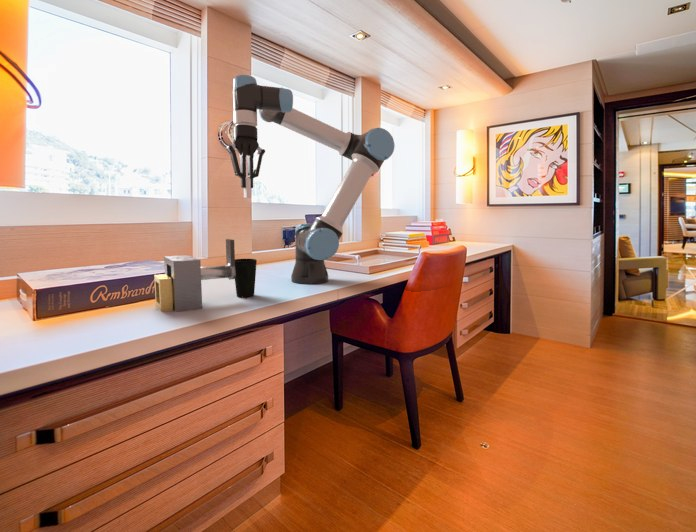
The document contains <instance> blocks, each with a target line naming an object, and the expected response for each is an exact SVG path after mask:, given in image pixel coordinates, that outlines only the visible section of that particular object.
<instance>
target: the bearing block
mask: <svg viewBox="0 0 696 532" xmlns="http://www.w3.org/2000/svg"><path fill="white" fill-rule="evenodd" d="M163 263H164V267H163V268H164V274H166V275H167V276H169V277H170V278H171V279H172V299H173V310H174V311H175V313H177V312H183V311H191V310H193V311H194V310H198V309H203V292H202V290H203V289H202V280H201V267H202V266H201V259H199V258H196V257H194V256H192V255H189V254H188V255H187V254H183V255H164V256H163Z"/></svg>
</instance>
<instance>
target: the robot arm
mask: <svg viewBox="0 0 696 532" xmlns="http://www.w3.org/2000/svg"><path fill="white" fill-rule="evenodd" d="M232 81H233V83H232V87H233V88H232V100H233V104H232V105H233V124H234V127H233V137H234V138H233V139H234V140H233V142H232V144H229V145H227V146H226V150H227V152H228V153H229V155H230V160H231V164H232V167H233V171H234V175H235V176H236V177H239V179H240V187H241V188H242V189H243V198H244V199H251V198H252V189H253V188H254V179H255V178H258V177H259V175H260V171H261V170H260V169H261V164H262V161H263V156H264V154H265V153H266V150H265V149H263V148H261V146H260V145H259V144H260V143H259V141H258V128H257V127H258V115H259V117H260V119H261V120H262V121H264V122H266V123H275V124H276V125H279V126H282V127H283V128H286V129H288V130H290V131H292V132H295V133H296V134H299V135H301V136H304V137H306V138H308V139H311V140H313V141H314V142H316V143H319V144H321V145H324V146H326V147H328V148H331V149H333V150H334V151H337V152H338V154H339V155H340V156H342V157H344V158H346V159H349V160H350V161H352V163H350V165H349V168H348V169H347V171H346V173H345V174H344V176H343V177H342V180H341V181H340V183H339V185H338V187H337V188H336V190H335V192H334V193H333V195H332V197H331V198H330V200H329V202H328V204H327V206H326V207H325V209H324V211H323V213H322V214H321V216H320V215H319V216H317V217H315V218H314V220H313V221H312V223H311V222H310V223H299V224H297V225H296V226H295V232H294V235H295V236H294V237H295V239H294V240H295V241H294V242H295V246H294V247H295V248H294V249H295V264H294V266H293V270H292V273H291V278H290V279H291V282H292V283H294V284H305V285H306V284H307V285H309V284H310V285H311V284H312V285H315V284H317V285H318V284H324V283H327V282H329V273H328V270H327V267H326V263H325V260H326V261H327V260H330V259H331V258H333V257H334V256H335V255H336V253H337V252H338V250H339V246H340V239H341V237H342V235H343V234H344V233H343V229H342V227H343V225H344V224H345V222H346V220H347V218H348V217H349V215H350V213H351V211H352V209H353V208H354V206H355V204H357V203H356V202H357V201H358V200H359V198H360V195H361V194H362V193H363V190H364V189H365V187H366V185H367V183H368V181H369V180H370V178H371V177H372V175H373V174H375V173H378V172H379V170H380V169H381V167H382V165H383V163H384V162H385V161H387V160H388V159H390V158H391V156H392V155H393V153H394V151H395V146H396V145H395V141H394V138H393V135H392V134H391V133H390V132H389V130H387V129H386V128H382V127H375V128H374V127H373V128H371V129H369V130H368V131H366V132H365V133H362V134H357V133H353V132H350V131H348V132H345V131H342V130H341V129H338V128H336V127H334V126H332V125H330V124H328V123H325V122H323V121H321V120H320V119H317V118H315V117H313V116H310V115H308V114H306V113H304V112H302V111H299V110H298V109H295V108H293V105H294V95H293V91H292V90H291V89H289V88H284V87H276V86H267V85H260V84H258V83H257V79H256V78H255V77H253V76H250V75H248V74H238V75H236V76H234V78H233V80H232ZM258 113H259V114H258ZM236 151H237V153H238V156H239V161H238V157H237V153H236ZM255 152H256V154H257V155H256V157H255V163H254V156H255Z"/></svg>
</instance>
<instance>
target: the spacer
mask: <svg viewBox="0 0 696 532" xmlns="http://www.w3.org/2000/svg"><path fill="white" fill-rule="evenodd" d="M153 276H154V277H153V278H154V296H155V297H154V299H155V306H156V307H157V309H158V310H159V311H160V312H161V313H162V312H168V311H173V310H174V309H173V299H172V279H171V278H170V277H169V276H167V275H166V274H165V273H163V274H162V273H161V274H160V273H159V274H154V275H153Z"/></svg>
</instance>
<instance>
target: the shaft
mask: <svg viewBox="0 0 696 532" xmlns="http://www.w3.org/2000/svg"><path fill="white" fill-rule="evenodd" d="M225 250H226V251H225V253H226V254H225V256H226V264H225V265H210V266H209V265H207V266H201V281H208V280H218V279H228V280H229V281H231V280H235V275H236V271H235V259H236V255H235V254H236V253H235V239H232V238H226V239H225Z"/></svg>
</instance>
